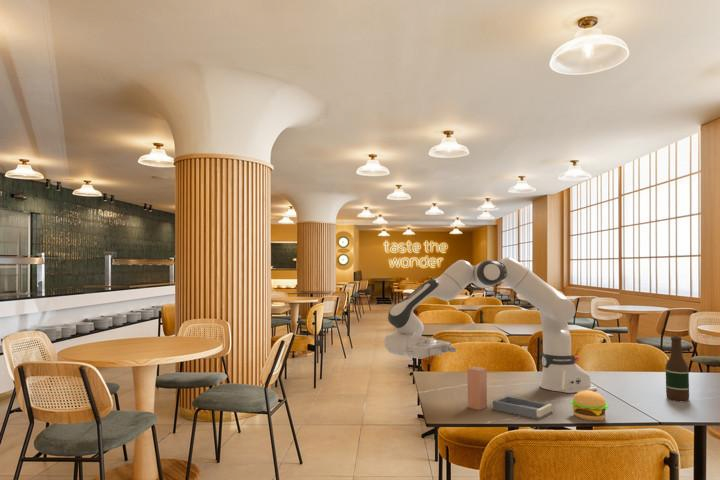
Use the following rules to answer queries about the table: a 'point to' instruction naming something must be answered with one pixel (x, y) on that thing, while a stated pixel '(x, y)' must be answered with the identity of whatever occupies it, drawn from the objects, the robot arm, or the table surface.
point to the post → (477, 387)
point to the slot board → (522, 407)
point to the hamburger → (589, 405)
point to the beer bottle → (677, 373)
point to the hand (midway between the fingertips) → (448, 351)
